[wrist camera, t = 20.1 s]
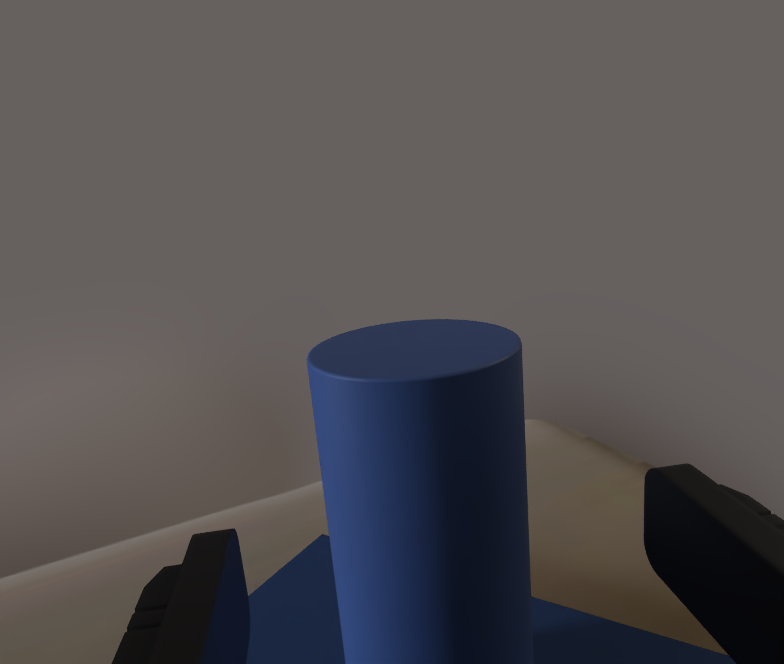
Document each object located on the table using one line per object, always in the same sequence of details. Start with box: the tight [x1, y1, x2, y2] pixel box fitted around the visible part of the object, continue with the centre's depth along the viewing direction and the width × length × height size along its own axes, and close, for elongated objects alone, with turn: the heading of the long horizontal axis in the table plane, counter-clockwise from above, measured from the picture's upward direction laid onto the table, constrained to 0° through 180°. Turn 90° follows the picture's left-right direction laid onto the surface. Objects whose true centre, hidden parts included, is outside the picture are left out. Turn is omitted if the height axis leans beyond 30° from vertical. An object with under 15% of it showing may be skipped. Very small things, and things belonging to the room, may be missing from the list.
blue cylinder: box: [307, 319, 534, 664], centre depth 16 cm, size 5×5×11 cm
